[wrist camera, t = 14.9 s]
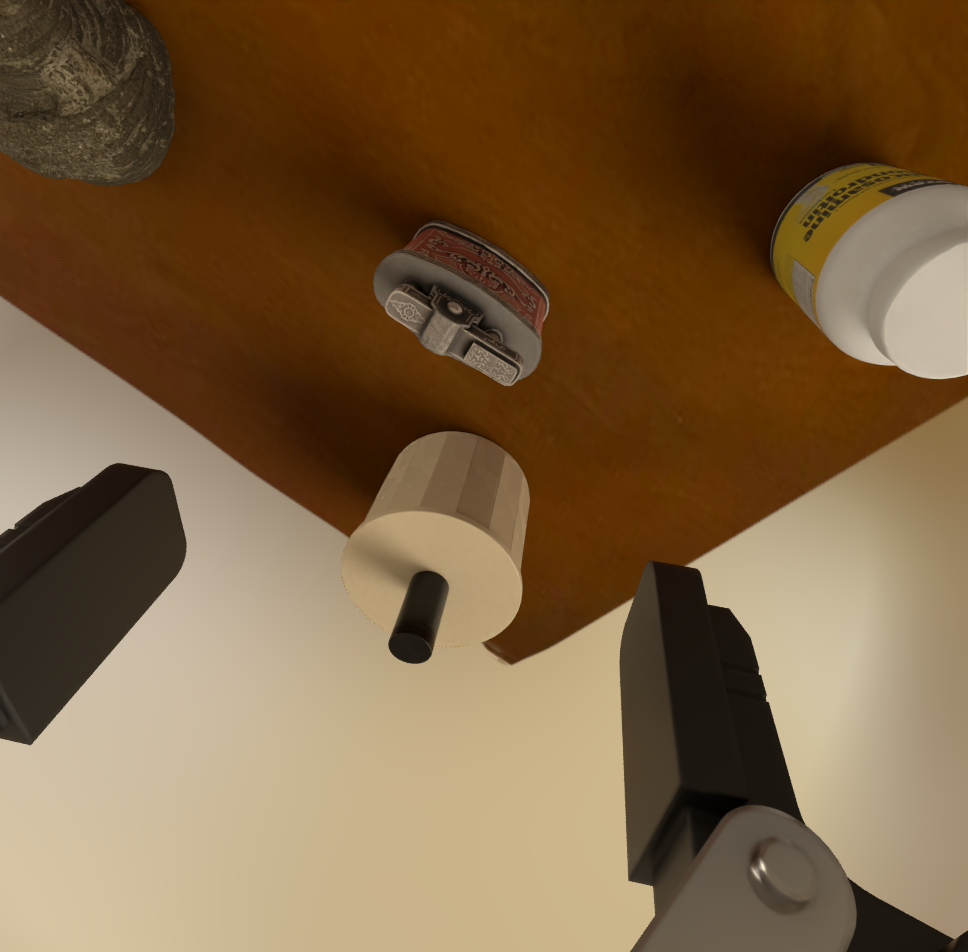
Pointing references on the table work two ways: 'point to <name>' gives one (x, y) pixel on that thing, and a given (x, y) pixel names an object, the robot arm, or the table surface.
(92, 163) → the seashell
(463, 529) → the pot lid
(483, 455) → the pot
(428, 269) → the lighter
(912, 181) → the pill bottle
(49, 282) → the table surface
